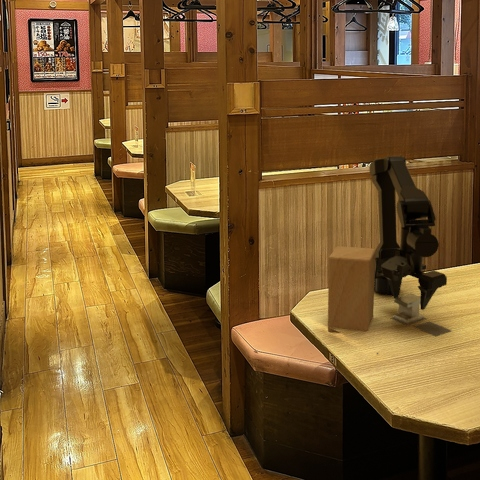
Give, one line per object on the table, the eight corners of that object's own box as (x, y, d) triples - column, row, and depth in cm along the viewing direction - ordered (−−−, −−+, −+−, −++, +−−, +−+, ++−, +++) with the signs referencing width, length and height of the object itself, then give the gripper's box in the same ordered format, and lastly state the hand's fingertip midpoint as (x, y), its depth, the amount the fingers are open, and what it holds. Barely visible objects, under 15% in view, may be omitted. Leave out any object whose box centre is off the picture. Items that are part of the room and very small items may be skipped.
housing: (393, 318, 171) (394, 298, 170) (410, 313, 174) (411, 293, 173) (406, 324, 167) (407, 303, 166) (423, 318, 170) (424, 298, 169)
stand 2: (412, 332, 166) (413, 326, 166) (429, 326, 169) (429, 321, 169) (435, 342, 160) (435, 336, 160) (451, 336, 163) (452, 330, 163)
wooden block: (373, 321, 173) (375, 248, 168) (367, 337, 164) (369, 259, 159) (335, 317, 176) (336, 245, 171) (327, 332, 167) (328, 256, 162)
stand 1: (389, 323, 172) (390, 318, 171) (410, 317, 175) (410, 312, 175) (406, 331, 167) (406, 325, 167) (426, 324, 171) (427, 318, 170)
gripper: (362, 242, 169) (360, 299, 173) (417, 260, 154) (413, 322, 158) (393, 235, 175) (391, 291, 179) (450, 252, 159) (446, 312, 164)
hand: (409, 303), depth 170 cm, fingers open, 9 cm apart
